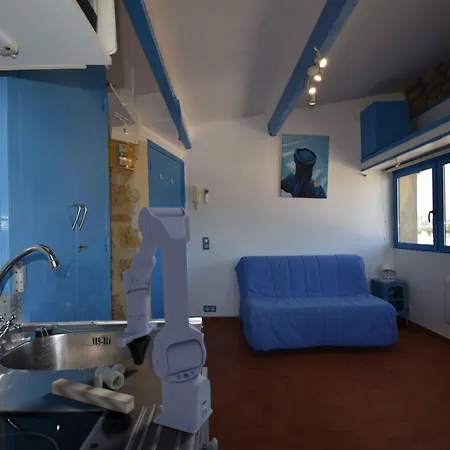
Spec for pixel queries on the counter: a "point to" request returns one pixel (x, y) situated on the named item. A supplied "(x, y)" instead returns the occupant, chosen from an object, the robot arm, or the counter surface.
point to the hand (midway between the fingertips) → (138, 364)
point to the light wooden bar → (94, 394)
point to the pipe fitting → (112, 375)
